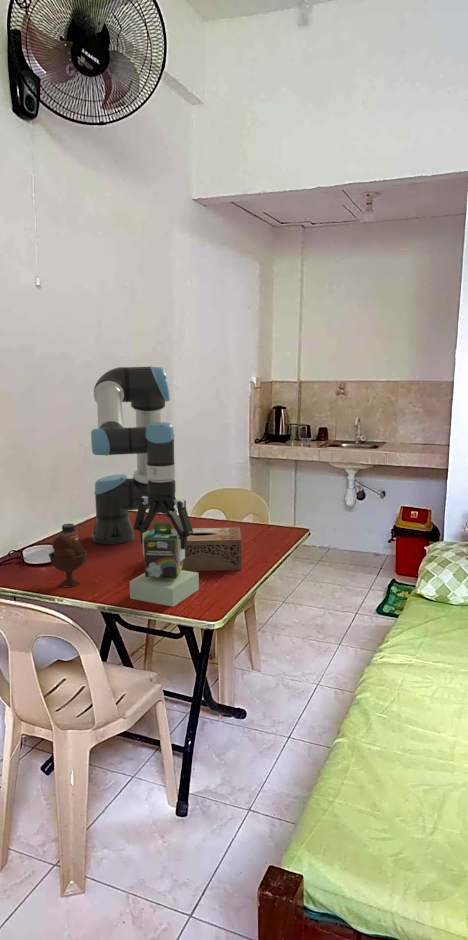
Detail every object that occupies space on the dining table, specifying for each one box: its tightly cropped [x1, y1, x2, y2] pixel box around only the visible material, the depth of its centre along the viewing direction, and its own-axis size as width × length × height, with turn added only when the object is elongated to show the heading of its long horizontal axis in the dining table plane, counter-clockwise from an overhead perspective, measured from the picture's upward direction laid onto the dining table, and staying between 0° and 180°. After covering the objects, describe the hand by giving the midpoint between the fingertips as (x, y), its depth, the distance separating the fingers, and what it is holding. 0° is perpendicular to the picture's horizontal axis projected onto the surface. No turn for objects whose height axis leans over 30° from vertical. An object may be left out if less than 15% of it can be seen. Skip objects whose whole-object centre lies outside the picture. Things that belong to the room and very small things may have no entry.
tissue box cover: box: [182, 526, 243, 572], centre depth 204 cm, size 26×14×10 cm, turn 91°
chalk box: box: [143, 522, 183, 578], centre depth 176 cm, size 9×9×15 cm
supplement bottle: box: [59, 523, 79, 541], centre depth 211 cm, size 6×6×11 cm
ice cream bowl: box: [48, 535, 88, 587], centre depth 186 cm, size 11×11×15 cm
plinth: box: [129, 570, 200, 607], centre depth 178 cm, size 14×14×5 cm
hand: (163, 557), depth 177 cm, fingers closed on chalk box, 10 cm apart
